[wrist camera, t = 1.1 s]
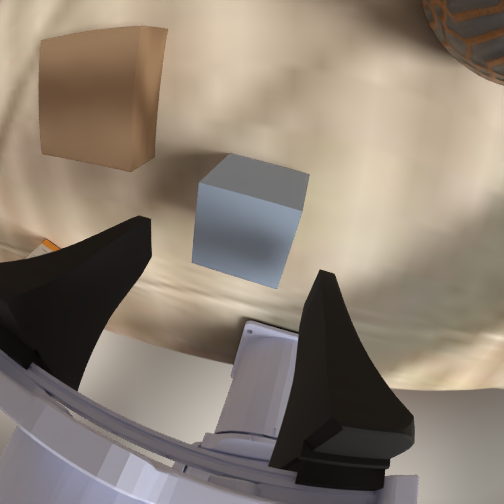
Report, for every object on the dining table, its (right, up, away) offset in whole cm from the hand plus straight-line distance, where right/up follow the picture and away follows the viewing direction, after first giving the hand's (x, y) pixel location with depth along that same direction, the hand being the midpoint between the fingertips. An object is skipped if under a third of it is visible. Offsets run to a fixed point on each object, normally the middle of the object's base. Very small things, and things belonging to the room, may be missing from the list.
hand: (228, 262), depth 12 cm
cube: (+2, +3, +5) cm, 6 cm away
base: (-8, +11, +3) cm, 14 cm away
